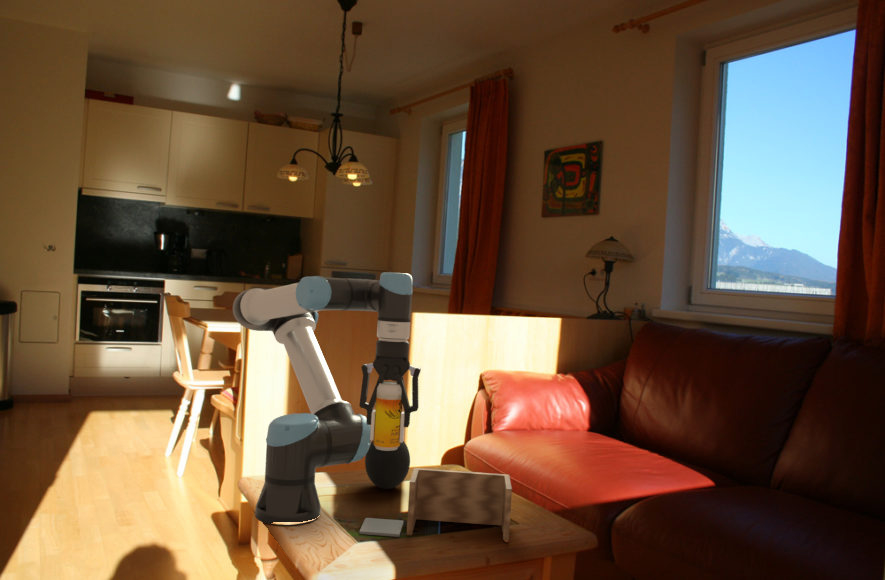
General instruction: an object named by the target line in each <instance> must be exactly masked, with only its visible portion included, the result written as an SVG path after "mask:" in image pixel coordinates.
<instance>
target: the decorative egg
mask: <svg viewBox="0 0 885 580" xmlns="http://www.w3.org/2000/svg"><path fill="white" fill-rule="evenodd" d="M408 447H409V446H408V445H407V443H406V441H405V440H404V441H403V442H400V446H399V447H398V449H397V450H393V451H384V450H378V449H376V447H375V446H374V440H371V442H370V447H369V450H368V452H367V454H366V455H365V456H364V465H365V472H366V475H367V477H368V479H369V480H370V481H371V483H372V484H374V485H375V486H376V487H377V488H380V489H384V490H391V489H394V488H396V487H398V486H400V485H401V484H402V483H403V482H404V480H405V479H406V477H407V476H408V473H409V470H410V465H411V456H410V455H411V454H410V450H409V448H408Z"/></svg>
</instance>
